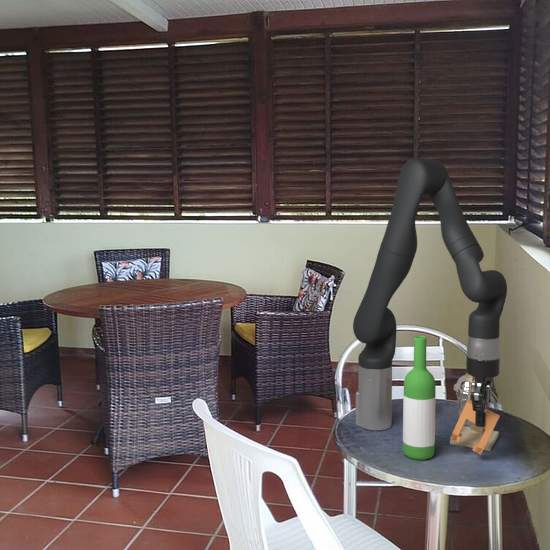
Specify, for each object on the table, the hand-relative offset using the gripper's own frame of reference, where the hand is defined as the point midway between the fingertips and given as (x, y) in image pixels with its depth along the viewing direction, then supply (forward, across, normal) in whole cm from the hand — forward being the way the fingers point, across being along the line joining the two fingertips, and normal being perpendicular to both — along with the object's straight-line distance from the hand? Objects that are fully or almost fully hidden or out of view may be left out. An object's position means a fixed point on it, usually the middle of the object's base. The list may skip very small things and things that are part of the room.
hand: (481, 424), depth 160 cm
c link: (+6, 0, -3) cm, 7 cm away
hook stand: (+9, -11, -4) cm, 15 cm away
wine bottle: (+9, +3, -14) cm, 17 cm away
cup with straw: (+9, -24, -8) cm, 27 cm away
